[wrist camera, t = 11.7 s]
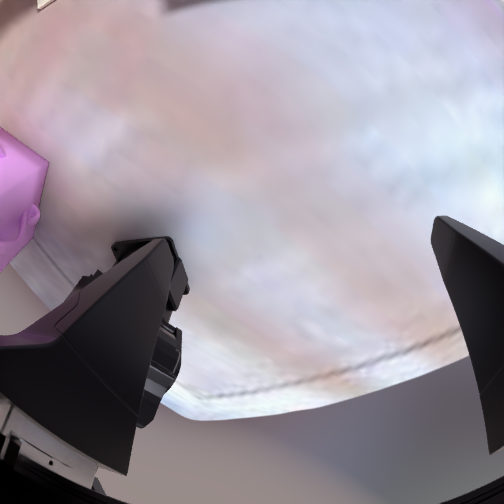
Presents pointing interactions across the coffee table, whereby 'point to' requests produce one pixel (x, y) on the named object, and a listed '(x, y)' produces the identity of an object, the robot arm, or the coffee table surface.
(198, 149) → the coffee table surface
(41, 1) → the tile
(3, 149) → the teapot
